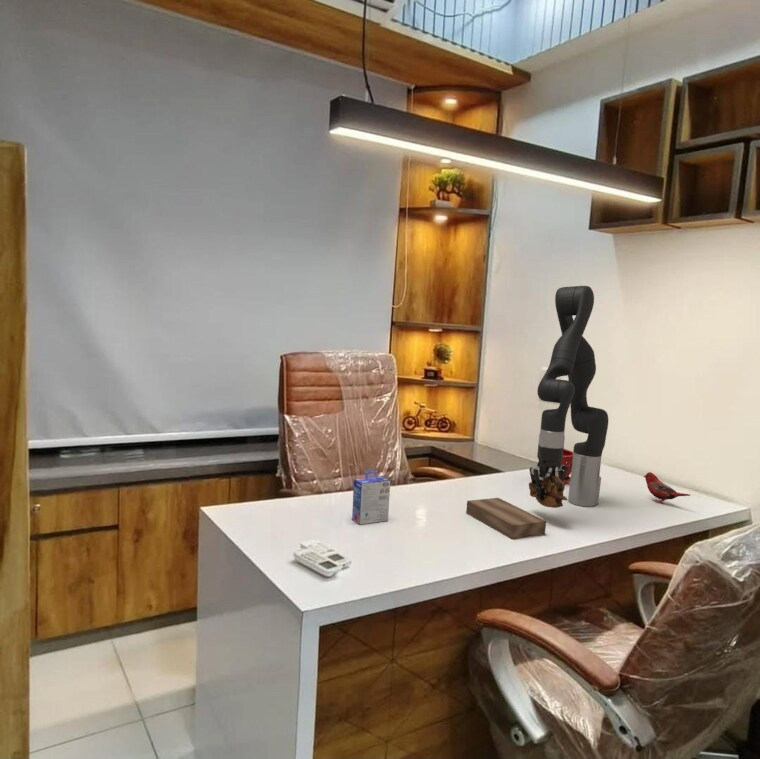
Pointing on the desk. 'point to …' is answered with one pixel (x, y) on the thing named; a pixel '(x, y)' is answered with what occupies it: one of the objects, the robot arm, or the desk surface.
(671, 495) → the decorative bird figurine
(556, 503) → the wooden carving
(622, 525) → the desk surface
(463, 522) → the desk surface
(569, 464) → the plant pot
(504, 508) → the walnut plinth
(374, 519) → the ink cartridge box
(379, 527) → the desk surface
